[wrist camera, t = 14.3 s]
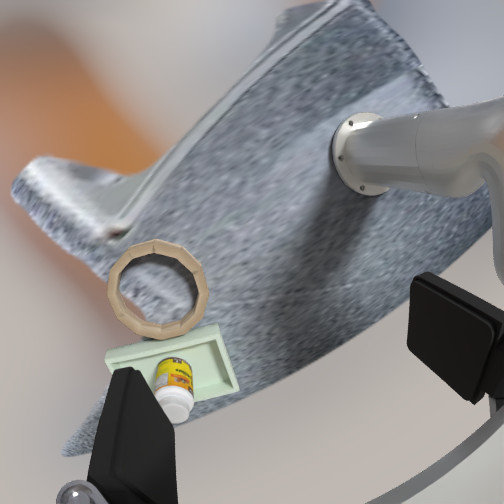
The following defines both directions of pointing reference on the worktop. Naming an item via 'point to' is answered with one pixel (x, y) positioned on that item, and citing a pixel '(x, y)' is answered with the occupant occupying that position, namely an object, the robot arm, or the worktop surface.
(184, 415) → the supplement bottle
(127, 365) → the tray
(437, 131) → the robot arm
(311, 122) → the worktop surface
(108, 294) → the collar
